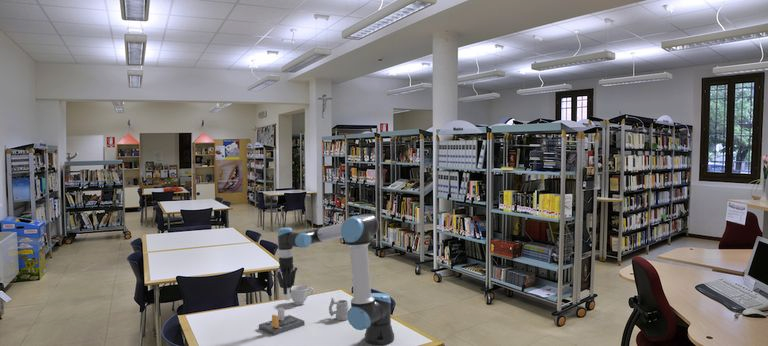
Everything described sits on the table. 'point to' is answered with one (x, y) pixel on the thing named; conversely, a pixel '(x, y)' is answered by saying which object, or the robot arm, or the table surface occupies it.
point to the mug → (339, 309)
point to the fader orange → (275, 321)
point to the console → (282, 325)
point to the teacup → (300, 293)
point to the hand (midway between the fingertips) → (287, 299)
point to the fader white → (281, 313)
